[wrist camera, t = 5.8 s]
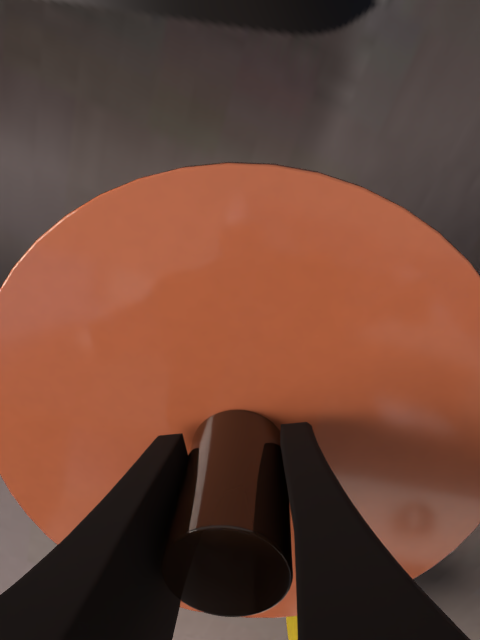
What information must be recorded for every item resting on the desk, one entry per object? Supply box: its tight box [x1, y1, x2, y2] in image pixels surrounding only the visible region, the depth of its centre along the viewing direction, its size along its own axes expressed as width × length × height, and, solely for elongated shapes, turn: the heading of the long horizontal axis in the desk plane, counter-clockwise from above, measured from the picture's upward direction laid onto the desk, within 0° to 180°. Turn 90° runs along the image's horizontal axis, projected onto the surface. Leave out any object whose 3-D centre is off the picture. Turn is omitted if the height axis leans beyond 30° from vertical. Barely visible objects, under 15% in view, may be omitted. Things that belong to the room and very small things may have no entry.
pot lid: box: [0, 162, 480, 618], centre depth 10 cm, size 14×14×4 cm
